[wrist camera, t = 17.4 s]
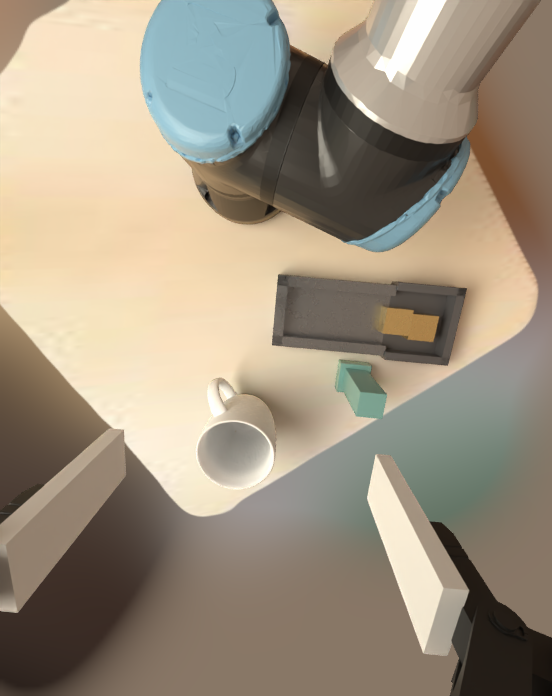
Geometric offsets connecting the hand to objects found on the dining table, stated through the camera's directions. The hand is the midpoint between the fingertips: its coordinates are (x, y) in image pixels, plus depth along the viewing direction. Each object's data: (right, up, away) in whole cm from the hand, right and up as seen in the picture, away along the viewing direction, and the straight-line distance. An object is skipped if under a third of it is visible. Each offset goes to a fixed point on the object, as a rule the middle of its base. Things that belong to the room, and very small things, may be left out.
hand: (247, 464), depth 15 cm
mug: (-4, -5, +37) cm, 38 cm away
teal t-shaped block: (+14, +1, +35) cm, 38 cm away
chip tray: (+24, +10, +33) cm, 42 cm away
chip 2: (+24, +10, +32) cm, 41 cm away
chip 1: (+20, +11, +32) cm, 39 cm away
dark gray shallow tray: (+10, +12, +33) cm, 36 cm away
